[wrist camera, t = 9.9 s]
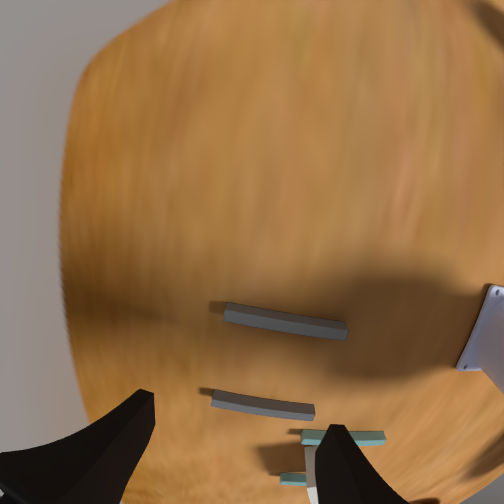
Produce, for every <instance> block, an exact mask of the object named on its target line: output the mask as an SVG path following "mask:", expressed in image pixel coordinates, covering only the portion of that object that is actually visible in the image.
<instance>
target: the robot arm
mask: <svg viewBox="0 0 504 504" xmlns="http://www.w3.org/2000/svg"><path fill="white" fill-rule="evenodd" d="M496 291H497V292H496ZM456 369H457V370H458V371H479V370H483V371H484V372H485V373H486V375H487V376H488V377H489V378H490V379H491V380H492V381H493V383H494V384H495V385H496V386H497V387H498V388H499V389H500V391H501V392H502V393H503V394H504V287H502V286H498V285H491V286H490V287H489V289H488V292H487V295H486V298H485V301H484V303H483V306H482V309H481V311H480V314H479V317H478V319H477V322H476V324H475V326H474V329H473V331H472V333H471V336H470V338H469V340H468V342H467V345H466V347H465V349H464V351H463V353H462V355H461V357H460V359H459V361H458V363H457V366H456ZM154 426H155V408H154V393H152V392H149V391H146V390H143V389H139V390H137V391H136V392H135V393H134V394H132V395H131V396H130V397H129V398H127V399H126V400H125V401H124V402H122V403H121V404H120V405H119V406H117V407H116V408H115V409H113V410H112V411H110V412H109V413H108V414H106V415H105V416H103V417H102V418H100V419H99V420H97V421H96V422H94V423H92V424H91V425H89V426H87V427H86V428H84V429H82V430H80V431H78V432H76V433H74V434H72V435H70V436H67V437H65V438H63V439H60V440H57V441H55V442H52V443H49V444H46V445H42V446H38V447H34V448H30V449H25V450H19V451H11V452H1V453H0V489H1V490H2V492H4V494H3V496H2V497H1V496H0V504H120V501H121V498H122V495H123V493H124V490H125V487H126V485H127V483H128V481H129V479H130V477H131V475H132V473H133V471H134V469H135V468H136V466H137V464H138V462H139V460H140V458H141V456H142V454H143V453H144V451H145V449H146V447H147V445H148V443H149V440H150V438H151V435H152V432H153V429H154ZM315 480H316V488H317V496H318V504H409V503H408V502H407V501H406V500H404V499H403V498H402V497H401V496H399V495H398V494H397V493H396V492H395V491H394V490H393V489H392V488H391V487H390V486H389V485H388V484H387V483H386V482H385V481H384V480H383V479H382V478H381V476H380V475H379V474H378V473H377V472H376V470H375V469H374V468H373V467H372V465H371V464H370V463H369V461H368V460H367V458H366V457H365V456H364V454H363V453H362V451H361V450H360V448H359V447H358V445H357V444H356V442H355V441H354V439H353V438H352V436H351V435H350V433H349V432H348V430H347V429H346V427H345V426H344V425H338V424H330V426H329V427H328V429H327V431H326V433H325V435H324V437H323V439H322V440H321V442H320V444H319V446H318V448H317V449H316V451H315Z"/></svg>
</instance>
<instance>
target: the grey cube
mask: <svg viewBox="0 0 504 504" xmlns="http://www.w3.org/2000/svg"><path fill="white" fill-rule="evenodd" d="M318 446H319V445H316V446H310V447H304V449H305V464H306V480H307V490H308V494H309V498H310V502H311V504H318V496H317V488H316V480H315V451H316V449H317V448H318Z"/></svg>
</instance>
